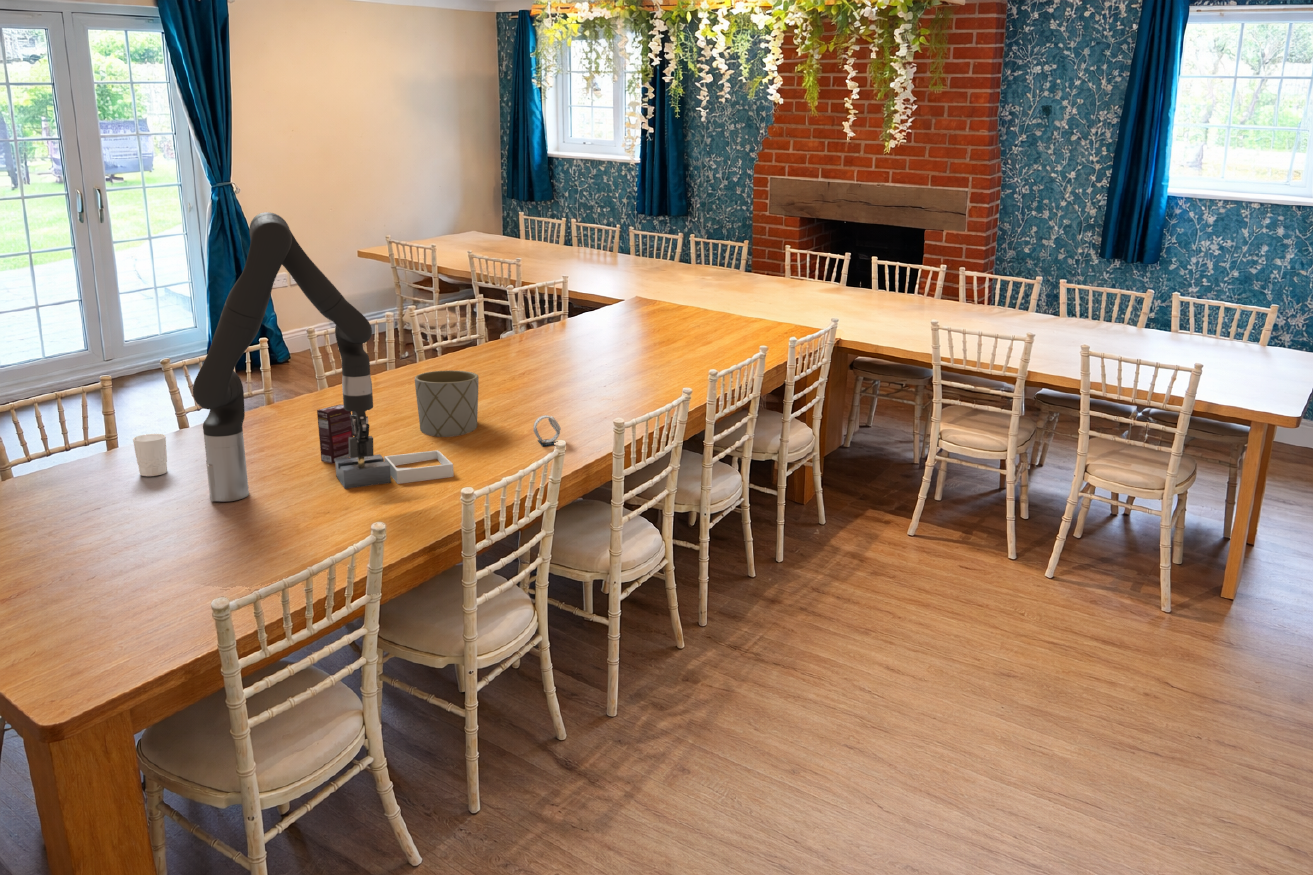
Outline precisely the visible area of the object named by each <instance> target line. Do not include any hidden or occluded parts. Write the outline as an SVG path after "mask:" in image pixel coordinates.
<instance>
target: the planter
mask: <svg viewBox="0 0 1313 875" xmlns="http://www.w3.org/2000/svg"><path fill="white" fill-rule="evenodd" d="M414 386H415V395H416V396H415V397H416V404H417V411H418V420H419V421H418V422H419V429H420V432H421V433H422V434H424V435H428V436H429V437H430V436H431V437H440V438H451V437H458V436H459V437H460V436H464V435H467V434H469V433H471V432H474V431H475V430H476V429H477V427H478V410H479V409H478V408H479V375H478V373H475V372H472V371H465V370H450V369H449V370H435V371H428V372H427V371H426V372H422V373H419V374H417V375H416V376H414Z"/></svg>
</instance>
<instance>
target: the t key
mask: <svg viewBox="0 0 1313 875" xmlns="http://www.w3.org/2000/svg"><path fill="white" fill-rule="evenodd" d="M363 437H364V436H362V437H361V438H363ZM348 444H349V456H350V457H349V458H354V457H358V465H359V464H364V457H368V456H373V455H374V437H373V436H372V435H369V440H368V442H366V446H367V456H362V457H360V456H359V455H358V444H357V437H354V436H353V437H348Z"/></svg>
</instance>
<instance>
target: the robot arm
mask: <svg viewBox="0 0 1313 875" xmlns="http://www.w3.org/2000/svg"><path fill="white" fill-rule="evenodd" d="M248 230H249V237H250V245H249V249H248V253H247V257H246V261H245V264H244V268H243V270H242V273H241V274H240V276H239V277H238V279H237V280H236V282H235V283H234V285H233V287H232V288H231V289H230V291H229V292H228V295H227V298H226V300H225V303H224V305H223V308H222V311H221V314H220V317H219V321H218V323H217V327H216V329H215V332H214V334H213V338H212V341H211V344H210V347H209V349H208V351H207V354H206V357H205V359H204V361H203V362H202V365H201V367H200V369H199V371H198V373H197V375H196V376H195V379H194V382H193V384H192V395H193V398H194V401H195V402H196V405H198V406H199V407H200V408H202V409H205V410H209V412H208V415H207V417H206V418H205V420H204V421H203V424H202V429H203V430H202V432H203V439H204V450H205V458H206V460H205V462H206V473H207V482H208V491H209V498H210V502H233V501H238V500H239V501H240V500H241V499H242V500H243V499H245V498H247V497H248V496H249V495H250V490H249V482H248V481H249V480H248V470H247V469H248V468H247V460H246V451H245V438H244V429H243V424H244V421H245V416H246V414H245V413H246V411H245V395H244V394H245V393H244V385H243V382H242V379H241V378H240V376H239V375H238V373H237V372H236V371H234V370H235V369H236V366H237V364H238V362H239V360H240V359H241V358H242V356H243V355H244V353H245V352H246V351H247V349H248V348H249V347H250V345H251V344H252V342H253V341H254V340H255V338H256V337H257V335H258V333H259V330H260V328H261V325H262V322H263V320H264V317H265V314H266V312H267V308H268V304H269V302H270V299H271V295H272V290H273V287H274V284H275V280H276V278H277V275H278V274H279V272H280V269H281V267H283V268H284V269H285V270H286V271H287V273H288V274H289V275H290V276H291V277H292V278H293V280H294V281H295V283H296V284H297V286H298V287H299V289H300V290H301V291H302V293H303V294H304V296H305V297H306V299H308V301H309V302H310V303H311V305H313V306H314V308H315V309H317V311H318V312H319V313H320V314H321V315H322V316H323V317H324V318H326V319H327V320H330V321H331V322H332V323H334V324H335V327H334V333H335V340H336V344H337V348H338V352H339V354H340V358H341V372H342V376H341V378H342V380H341V381H342V382H341V385H342V386H341V387H342V402H343V403H342V405H344V409H345V410H346V411H351V415H350V420H351V426H352V435H353V437H357V444H358V455H359V456H360V457H362V456H367V446H366V442H368V440H369V436H370V434H369V433H370V423H369V416H368V415H367V413H366V412H367V411H370V410H372V409H373V408H374V398H373V397H374V396H373V382H372V377H371V376H372V375H371V366H370V365H371V364H370V363H371V362H370V357H369V355H368V353H367V352H366V351H365V349H364V347H363V344H366V343H367V342H368V341H369V340H371V337H372V334H373V329H372V326H371V323H370V321H369V320H368V319H367V318H366V316H365V315H364V314H362V313H361V312H360V310H358V309H357V308H356V307H355V306H353V305H352V304H351V303H350V302H349V301H347V299H345V297H344V295H343V294H342V293H341V292H340V291H339V289H337V287H336V286H335V285H334V284H333V282H331V280H330V279H329V278H328V277H327V276H326V275H325V274H324V273H323V272H322V271H321V270H320V268H319V267H318V266H317V265H316V264H315V263H314V262H313V260H312V259H311V258H310V257H309V256H308V254H307V253H306V252H305V250H303V248H302V247H301V245H300V243H299V242H298V241H297V239H296V237H295V236H294V234H293V233H292V231H291V228H290V226H289V225H288V223H287V222H286V220H285V219H284V218H283V217H282V216H280V215H279V214H276V213H273V212H270V211H269V212H267V211H266V212H261V213H257V215H255V216H254V217H253V219H252V220H251V222H250V224H249V229H248ZM362 436H364V437H363V438H361V437H362Z"/></svg>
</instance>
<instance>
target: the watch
mask: <svg viewBox="0 0 1313 875" xmlns="http://www.w3.org/2000/svg"><path fill="white" fill-rule="evenodd" d="M545 419H547V420H548V422H549V424H550V425H551V427H552V428H553V430H554V431H555V432H556V433H555V434H554V436H553V437H552V438H549V439H548V438H547V439H543V438H542V437H541V435H540V433H539V430H538V424H539V423H540V422H541V421H542V420H545ZM561 429H562V428H561V426H560V424H559V423H558V421H557V420H556V419H555V417H554V416H553V415H547V414H546V415H540V416H538V417H537V418H536V419H535V421H534V423H533V432H534V435H535V436H536V438H537V442H538V443H539V444H540V446H541V447H542V448H545V447H553V446H555V445H554V442H556V440H557V439H558V438H559V437H560V434H561Z"/></svg>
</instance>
